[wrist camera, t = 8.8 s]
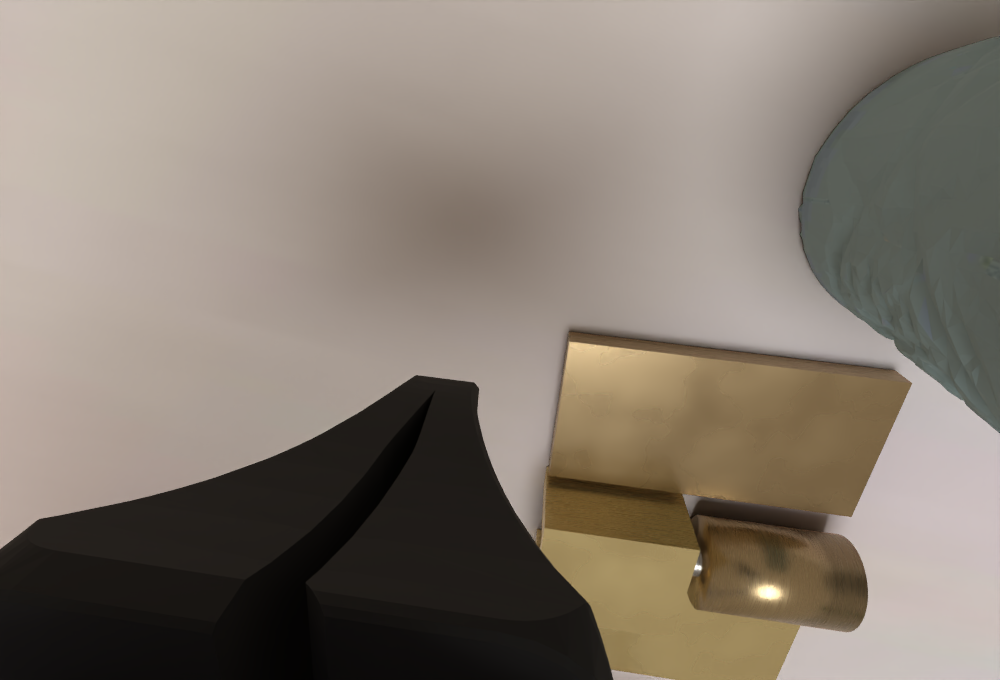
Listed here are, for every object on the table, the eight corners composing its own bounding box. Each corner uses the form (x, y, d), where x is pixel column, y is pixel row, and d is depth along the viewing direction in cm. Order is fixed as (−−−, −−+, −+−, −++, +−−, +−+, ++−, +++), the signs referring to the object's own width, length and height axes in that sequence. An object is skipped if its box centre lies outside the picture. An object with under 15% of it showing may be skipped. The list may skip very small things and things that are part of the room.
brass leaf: (521, 636, 27) (515, 712, 23) (546, 466, 23) (544, 528, 19) (761, 673, 26) (792, 757, 23) (834, 505, 22) (885, 577, 18)
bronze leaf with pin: (537, 539, 24) (533, 606, 21) (568, 331, 20) (570, 373, 17) (805, 578, 23) (845, 653, 20) (895, 370, 19) (964, 422, 16)
